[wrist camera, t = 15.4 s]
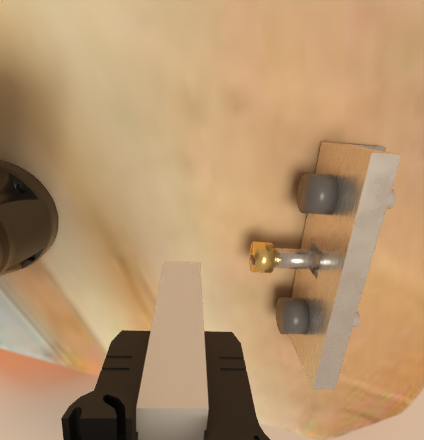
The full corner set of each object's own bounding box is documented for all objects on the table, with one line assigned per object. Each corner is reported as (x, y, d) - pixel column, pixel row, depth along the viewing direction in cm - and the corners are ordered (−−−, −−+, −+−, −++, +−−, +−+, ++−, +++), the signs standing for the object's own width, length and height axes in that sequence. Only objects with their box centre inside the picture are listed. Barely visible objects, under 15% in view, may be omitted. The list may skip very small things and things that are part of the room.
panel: (285, 327, 50) (312, 389, 39) (321, 141, 40) (371, 152, 29) (334, 328, 51) (375, 389, 40) (381, 146, 41) (453, 159, 30)
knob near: (294, 206, 40) (308, 218, 36) (301, 169, 39) (316, 177, 34) (372, 211, 41) (395, 223, 37) (381, 175, 40) (407, 183, 35)
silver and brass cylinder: (245, 263, 42) (251, 277, 39) (249, 236, 41) (255, 249, 37) (319, 266, 43) (331, 281, 39) (325, 240, 42) (338, 253, 38)
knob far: (274, 318, 46) (283, 341, 42) (279, 290, 45) (289, 311, 40) (342, 320, 47) (359, 343, 43) (350, 293, 46) (368, 313, 41)
